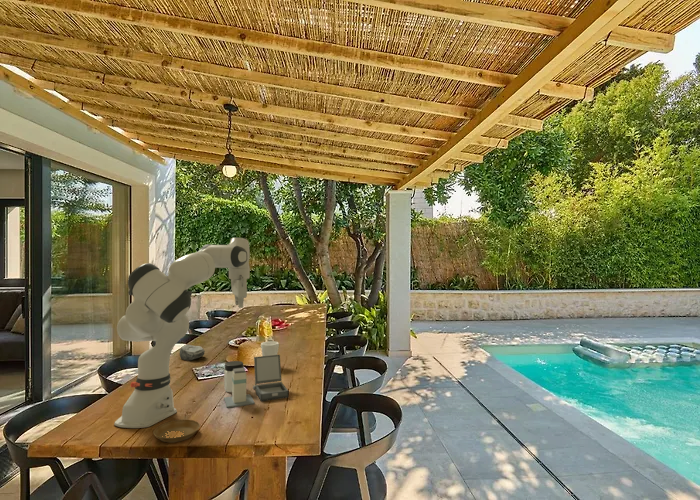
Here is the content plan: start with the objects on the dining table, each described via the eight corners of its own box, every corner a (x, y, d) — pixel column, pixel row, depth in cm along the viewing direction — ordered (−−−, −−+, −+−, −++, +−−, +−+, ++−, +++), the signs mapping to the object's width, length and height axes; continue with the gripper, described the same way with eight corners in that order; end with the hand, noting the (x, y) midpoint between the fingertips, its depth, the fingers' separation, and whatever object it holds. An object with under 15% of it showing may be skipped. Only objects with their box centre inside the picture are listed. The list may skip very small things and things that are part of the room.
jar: (246, 386, 193) (246, 360, 193) (241, 392, 185) (241, 365, 185) (226, 386, 193) (227, 360, 193) (221, 392, 185) (221, 365, 185)
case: (288, 398, 178) (288, 377, 178) (260, 401, 174) (261, 380, 174) (278, 384, 195) (278, 366, 195) (253, 388, 191) (253, 368, 191)
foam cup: (266, 370, 218) (266, 346, 218) (257, 366, 225) (257, 343, 225) (281, 367, 225) (281, 343, 225) (273, 363, 232) (273, 340, 232)
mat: (254, 404, 171) (254, 402, 171) (227, 407, 167) (227, 406, 167) (250, 395, 181) (250, 394, 181) (223, 398, 177) (224, 397, 177)
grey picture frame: (279, 354, 193) (279, 354, 194) (254, 357, 188) (254, 357, 189) (281, 380, 190) (281, 380, 191) (255, 384, 185) (255, 384, 186)
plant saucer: (197, 442, 137) (197, 435, 137) (149, 448, 133) (149, 440, 133) (201, 424, 151) (201, 417, 151) (157, 429, 147) (157, 421, 147)
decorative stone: (205, 355, 237) (198, 338, 238) (181, 365, 233) (174, 349, 234) (207, 353, 251) (200, 338, 252) (184, 363, 247) (178, 348, 247)
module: (246, 401, 173) (246, 370, 173) (233, 402, 171) (233, 371, 171) (244, 397, 177) (244, 367, 177) (232, 398, 175) (232, 368, 175)
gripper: (250, 275, 173) (250, 309, 173) (243, 273, 192) (242, 303, 192) (235, 276, 170) (234, 309, 170) (229, 273, 189) (228, 303, 189)
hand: (239, 306), depth 181 cm, fingers open, 8 cm apart
